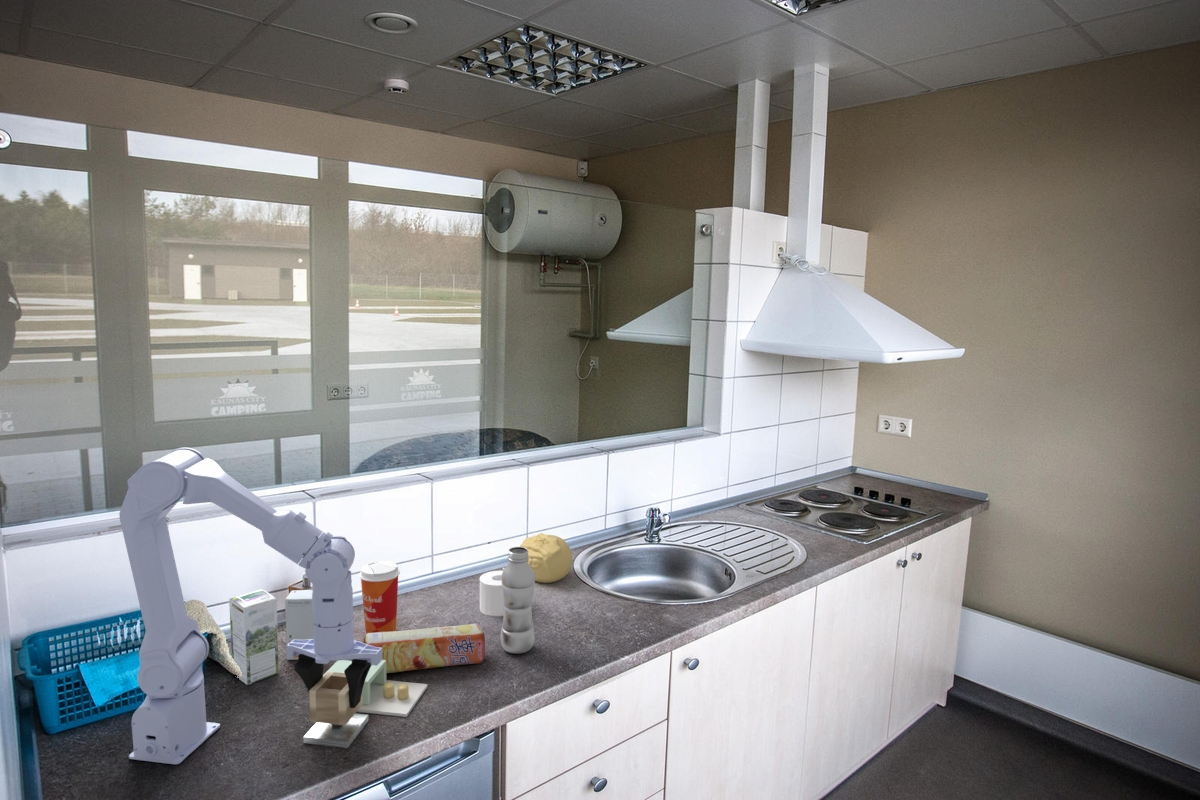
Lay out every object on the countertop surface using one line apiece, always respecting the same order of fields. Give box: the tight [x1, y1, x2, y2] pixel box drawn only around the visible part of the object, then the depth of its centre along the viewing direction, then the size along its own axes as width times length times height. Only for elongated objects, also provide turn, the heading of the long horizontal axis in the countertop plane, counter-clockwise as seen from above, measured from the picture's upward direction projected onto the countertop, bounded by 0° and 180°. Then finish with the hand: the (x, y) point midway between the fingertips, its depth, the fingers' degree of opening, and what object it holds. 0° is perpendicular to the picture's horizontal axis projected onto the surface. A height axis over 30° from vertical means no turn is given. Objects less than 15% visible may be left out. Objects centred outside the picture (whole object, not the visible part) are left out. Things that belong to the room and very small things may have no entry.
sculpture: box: [519, 533, 573, 584], centre depth 172 cm, size 12×12×11 cm
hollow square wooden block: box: [308, 671, 362, 725], centre depth 111 cm, size 6×6×5 cm
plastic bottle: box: [499, 546, 536, 655], centre depth 136 cm, size 6×7×20 cm
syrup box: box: [228, 588, 280, 686], centre depth 126 cm, size 6×6×14 cm
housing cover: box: [323, 660, 387, 704], centre depth 121 cm, size 7×8×4 cm
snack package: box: [362, 623, 486, 674], centre depth 131 cm, size 21×7×7 cm, turn 108°
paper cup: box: [358, 560, 401, 635], centre depth 142 cm, size 8×8×14 cm
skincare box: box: [284, 589, 314, 661], centre depth 133 cm, size 6×4×12 cm
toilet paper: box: [479, 567, 506, 617], centre depth 157 cm, size 8×11×7 cm
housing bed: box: [356, 679, 428, 718], centre depth 121 cm, size 9×15×2 cm, turn 82°
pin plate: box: [302, 712, 370, 749], centre depth 111 cm, size 7×7×4 cm
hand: (336, 702), depth 111 cm, fingers closed on hollow square wooden block, 6 cm apart
